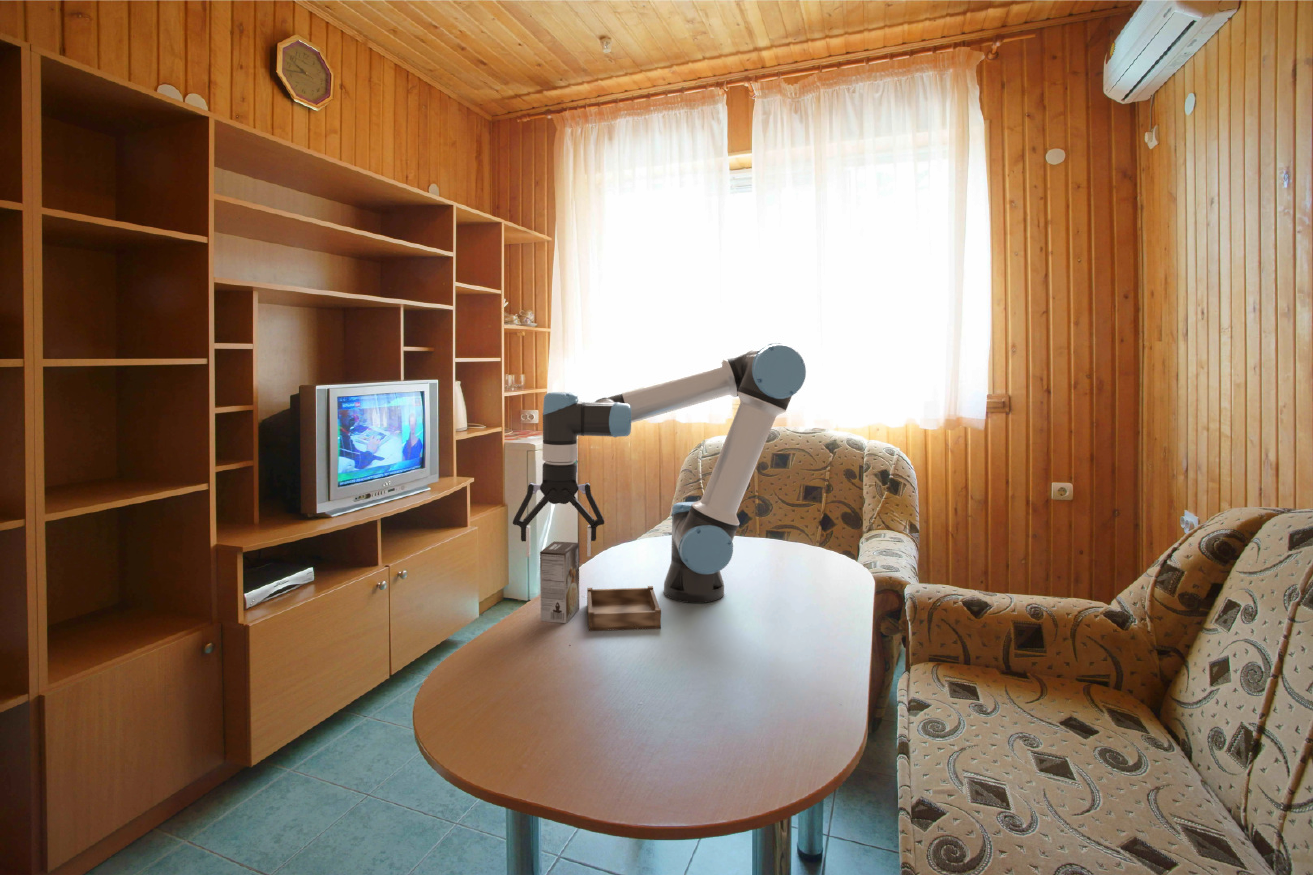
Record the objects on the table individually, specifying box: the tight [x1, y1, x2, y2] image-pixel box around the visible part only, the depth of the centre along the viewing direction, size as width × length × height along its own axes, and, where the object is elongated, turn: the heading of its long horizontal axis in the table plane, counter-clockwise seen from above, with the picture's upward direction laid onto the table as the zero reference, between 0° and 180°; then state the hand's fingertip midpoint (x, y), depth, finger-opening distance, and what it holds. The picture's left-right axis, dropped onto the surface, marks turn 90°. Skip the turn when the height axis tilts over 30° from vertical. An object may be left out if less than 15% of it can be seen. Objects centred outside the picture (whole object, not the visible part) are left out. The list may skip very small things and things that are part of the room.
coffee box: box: [539, 541, 580, 624], centre depth 154 cm, size 9×6×16 cm
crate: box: [586, 585, 662, 632], centre depth 154 cm, size 16×16×4 cm
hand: (558, 555), depth 153 cm, fingers open, 13 cm apart
